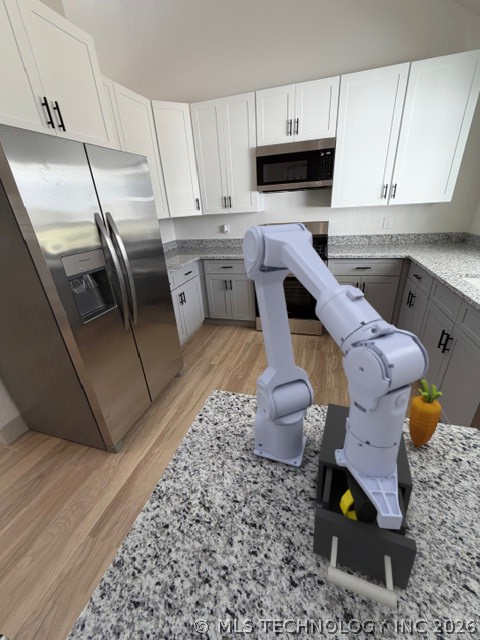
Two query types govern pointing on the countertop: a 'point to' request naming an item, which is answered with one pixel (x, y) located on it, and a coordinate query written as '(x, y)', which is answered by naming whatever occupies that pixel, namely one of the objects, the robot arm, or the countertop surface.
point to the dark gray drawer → (361, 546)
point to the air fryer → (336, 439)
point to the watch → (347, 505)
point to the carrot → (424, 415)
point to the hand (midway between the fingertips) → (361, 507)
